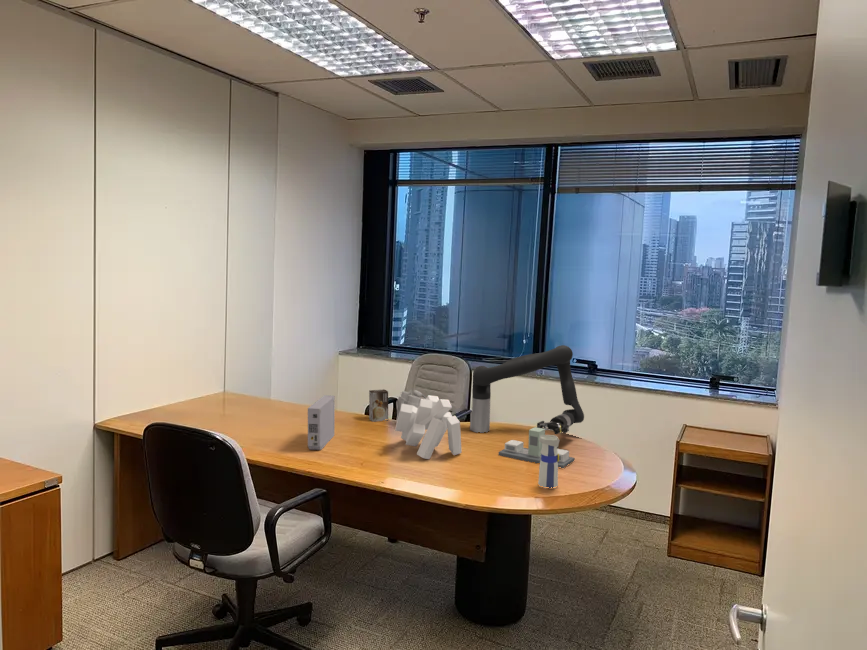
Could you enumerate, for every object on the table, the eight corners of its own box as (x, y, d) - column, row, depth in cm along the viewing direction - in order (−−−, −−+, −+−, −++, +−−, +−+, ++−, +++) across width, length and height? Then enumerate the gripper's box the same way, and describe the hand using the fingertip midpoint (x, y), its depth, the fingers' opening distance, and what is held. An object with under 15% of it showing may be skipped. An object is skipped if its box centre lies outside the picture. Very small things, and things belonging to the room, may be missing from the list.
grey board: (498, 455, 285) (498, 452, 285) (511, 448, 296) (511, 445, 296) (563, 469, 268) (563, 465, 268) (574, 461, 279) (574, 457, 279)
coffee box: (384, 417, 348) (385, 389, 346) (388, 420, 342) (388, 391, 340) (368, 419, 344) (369, 390, 342) (372, 421, 338) (372, 392, 337)
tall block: (527, 454, 281) (528, 430, 280) (533, 450, 286) (534, 427, 285) (538, 456, 278) (539, 432, 277) (544, 452, 283) (545, 429, 282)
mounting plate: (503, 450, 287) (503, 449, 287) (510, 447, 293) (510, 445, 293) (563, 463, 271) (563, 461, 271) (569, 459, 277) (570, 457, 277)
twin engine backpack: (434, 434, 328) (443, 397, 328) (402, 429, 320) (411, 391, 320) (420, 426, 344) (429, 390, 344) (389, 421, 336) (398, 384, 336)
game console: (335, 435, 313) (335, 395, 311) (320, 451, 286) (320, 408, 284) (324, 434, 313) (324, 395, 311) (307, 451, 286) (307, 408, 284)
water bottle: (556, 481, 253) (558, 420, 251) (561, 489, 245) (563, 426, 242) (535, 481, 253) (538, 420, 250) (540, 489, 245) (542, 426, 242)
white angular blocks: (376, 460, 292) (378, 403, 272) (409, 423, 314) (413, 368, 294) (441, 492, 279) (448, 435, 259) (472, 451, 301) (480, 396, 281)
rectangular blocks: (504, 449, 286) (504, 443, 286) (511, 446, 293) (511, 439, 292) (562, 461, 271) (562, 455, 271) (568, 457, 277) (569, 450, 277)
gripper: (547, 413, 307) (532, 420, 294) (574, 417, 299) (561, 425, 286) (546, 428, 308) (532, 435, 295) (574, 433, 300) (561, 441, 287)
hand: (546, 430), depth 290 cm, fingers open, 8 cm apart
